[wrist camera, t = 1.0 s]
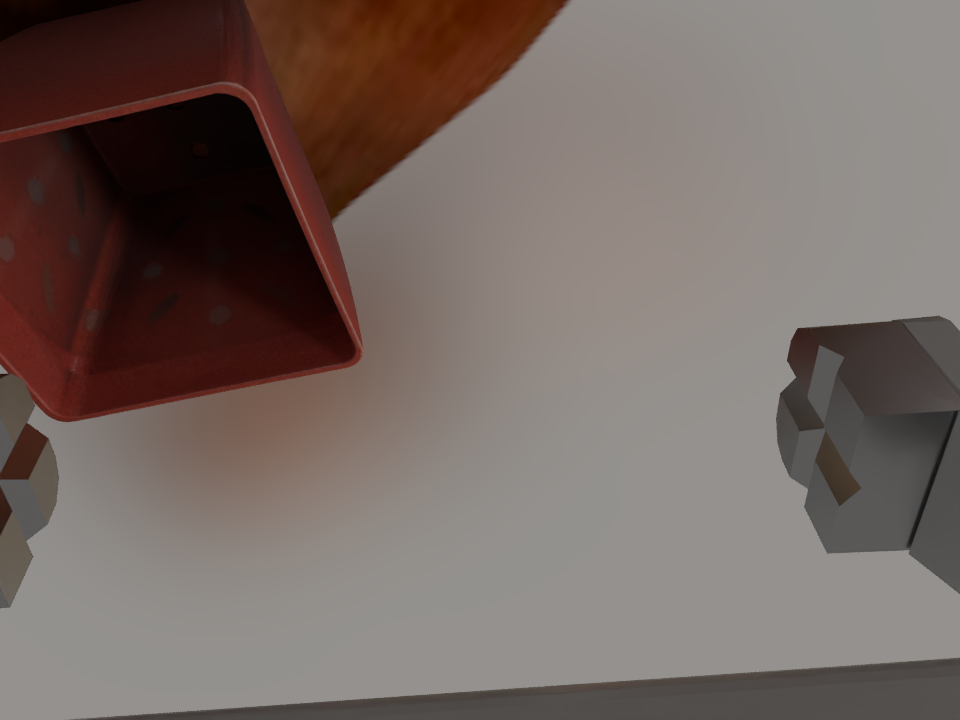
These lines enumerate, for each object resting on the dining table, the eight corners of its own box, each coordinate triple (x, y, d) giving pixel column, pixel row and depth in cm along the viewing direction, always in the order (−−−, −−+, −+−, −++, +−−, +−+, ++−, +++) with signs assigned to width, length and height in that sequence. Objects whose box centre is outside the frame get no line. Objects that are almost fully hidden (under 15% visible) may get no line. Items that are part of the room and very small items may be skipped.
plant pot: (100, 241, 65) (53, 430, 54) (-68, -12, 51) (-179, 173, 40) (362, 185, 64) (369, 365, 53) (265, -92, 50) (246, 76, 39)
